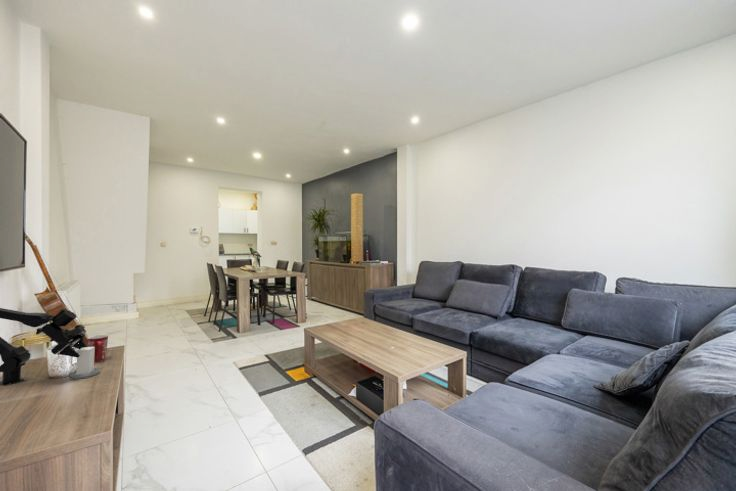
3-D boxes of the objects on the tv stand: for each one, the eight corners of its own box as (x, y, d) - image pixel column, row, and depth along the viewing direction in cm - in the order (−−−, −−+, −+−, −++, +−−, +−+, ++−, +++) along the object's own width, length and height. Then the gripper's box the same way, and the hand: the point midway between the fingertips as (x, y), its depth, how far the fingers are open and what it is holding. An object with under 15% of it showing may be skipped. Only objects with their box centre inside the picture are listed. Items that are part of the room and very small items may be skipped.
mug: (86, 359, 175) (87, 336, 175) (106, 356, 181) (107, 333, 182) (87, 365, 166) (88, 341, 166) (109, 362, 172) (110, 337, 173)
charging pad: (65, 376, 151) (65, 374, 151) (92, 369, 162) (92, 366, 162) (77, 380, 147) (77, 378, 147) (104, 372, 157) (104, 370, 157)
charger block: (76, 374, 151) (77, 350, 151) (81, 371, 156) (82, 347, 156) (88, 373, 153) (89, 349, 153) (93, 370, 158) (94, 346, 158)
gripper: (61, 325, 144) (89, 347, 148) (81, 317, 161) (106, 336, 165) (38, 343, 141) (67, 365, 145) (61, 333, 158) (87, 352, 162)
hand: (83, 353), depth 154 cm, fingers open, 9 cm apart
